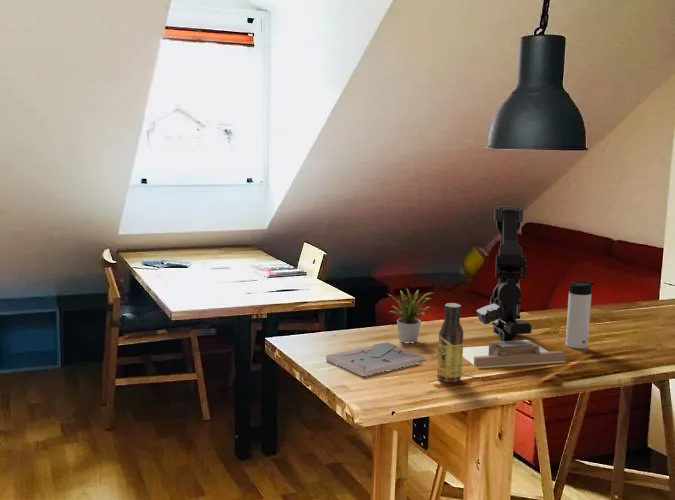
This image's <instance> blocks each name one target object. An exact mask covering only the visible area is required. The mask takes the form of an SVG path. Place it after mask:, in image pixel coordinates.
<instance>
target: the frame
mask: <svg viewBox="0 0 675 500" xmlns="http://www.w3.org/2000/svg"><path fill="white" fill-rule="evenodd" d="M488 346H489V355H488V356H490V355H500V353H501V351H505V352H506V354H520V353H534V350H535V349H539V346H540V345H539V346H538V344H537V343H536V342H533V341H532V340H530V339H521V340H520V339H519V340H513V341H501V340H500V341H489V342H488Z"/></svg>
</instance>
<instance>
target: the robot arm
mask: <svg viewBox="0 0 675 500" xmlns="http://www.w3.org/2000/svg"><path fill="white" fill-rule="evenodd" d="M493 219H494V222H495V223H496V224H495V226H496V229H497V231H498V232H499V234H500V244H499V245H500V246H499V247H498V254H496V255H495V279H498V283H497V284H496V286H495V287H494V288H493V290H492V291H493V292H492V295H491V296H490V301H489V304H488V305H485V306H482V307H480V308H478V309H476V313H477V317H478V321H479V322H481V323H482V324H483V325H489V324H490V323H491V325H492V326H493V333H494V334H498V335H499V340H500V341H514V339H515V337H516V336H517V335H529V334H532V331H533V326H532V324H531V323H529V322H528V321H526V320H525V319H521V314H520V313H521V305H522V300H521V297H522V290H521V287H520V280H525V276H527V265H528V264H527V258H526V257H525V255H523V247H521V246H520V245H519V243H518V231H519V230H520V228H521V223H523V222H524V210H522V209H520V206H506V205H505V206H504V205H503V206H502V205H499V206H498V209H496V208H495V209H494V216H493Z"/></svg>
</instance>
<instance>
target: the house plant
mask: <svg viewBox="0 0 675 500" xmlns="http://www.w3.org/2000/svg"><path fill="white" fill-rule="evenodd" d="M404 289H406V292H407V295H408V296H407V295H405V293H404V292H403V291H402V290H401V289H400V290H399V292H400V296H401V301H402V302H401V301H400V299H396V297H394V296H393V295H391V294H389V293H387V295H388V296H390V297H392V299H394V300H395V301H396V303H397V304H398V306H399V307H400V309H399V307H396V306H395V305H391V307H392V308H394V310H391V311H390V310H389V312H388V313H393V314H395V315H397V316H398V317H399V318H398V319H397V320H396V323H397V324H396V325H397V332H398V338H399V342H400V341H402V342H409V343H411V342H416V341H417V342H418V338H419V333H420V327H421V324H422V323H421V322H422V321H421V320H420V319H417V318H418V317H419V318H421V319H422V315H423V316H424V315H425V312H424V311H427V309H428V308H429V306H427V307H424V308H423V307H421V306H423V304H424V303H425V302H427V301H428V300H432V299H433V298H430V297H427V298H426V296H428V295H431V294H434V293H435V292H426V293H424V294H423V295H422V296H421V297H420V298H419V299H418V297H419V291H420V289H417V290H416V291H415V293H414V295H413V298H412V295H411V292H410V290H409V289H408V288H407V287H405V288H404ZM417 300H418V301H417ZM419 304H420V305H419ZM417 307H418V308H417ZM420 310H421V311H420ZM402 342H401V343H402ZM417 342H416V343H417Z"/></svg>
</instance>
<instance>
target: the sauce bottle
mask: <svg viewBox="0 0 675 500" xmlns="http://www.w3.org/2000/svg"><path fill="white" fill-rule="evenodd" d="M461 311H462V305H461V304H459V303H455V302H448V303H446V304H444V320H443V323H442V325H441V328H440V331H439V333H438V344H437V364H436V365H437V367H436V374H437V376H436V377H437V379H438V380H439V381H441V382H443V383H458V382H460V381H461V379H462V376H461V375H462V372H463V371H462V370H463V358H464V357H463V348H464V330H463V326H462V325H461V323H460V322H461V319H460V317H461Z"/></svg>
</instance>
